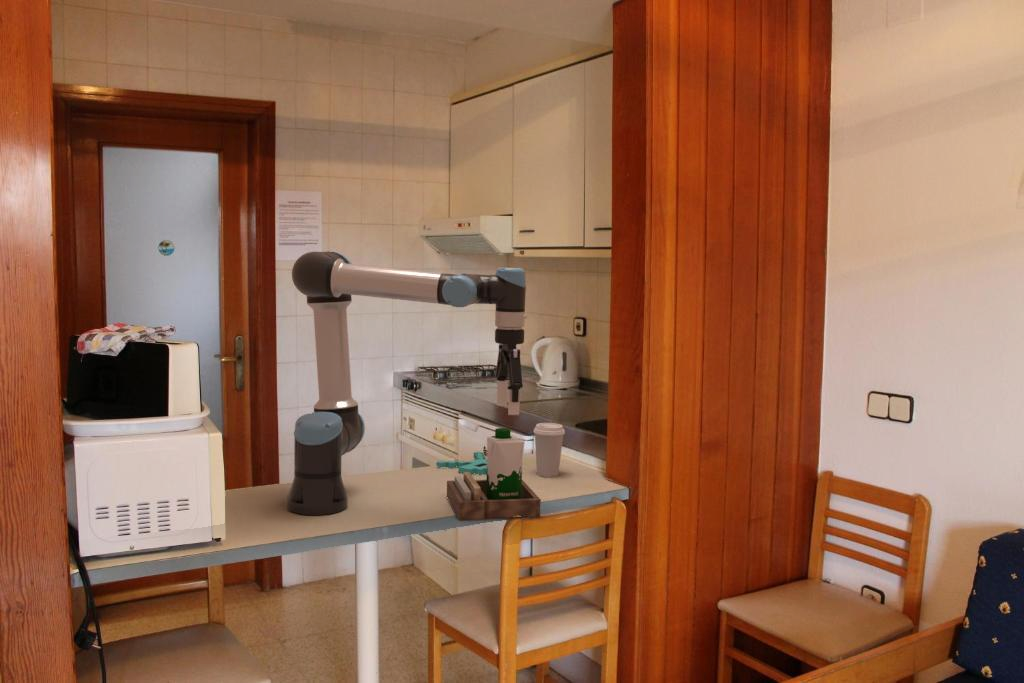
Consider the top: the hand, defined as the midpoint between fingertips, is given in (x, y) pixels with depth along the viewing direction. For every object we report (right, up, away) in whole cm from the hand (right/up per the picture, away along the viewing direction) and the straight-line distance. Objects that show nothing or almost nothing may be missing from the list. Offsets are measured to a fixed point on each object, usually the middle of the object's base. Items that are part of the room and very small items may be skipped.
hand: (507, 409), depth 226 cm
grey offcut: (-12, -26, 0) cm, 28 cm away
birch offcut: (-10, -26, +1) cm, 27 cm away
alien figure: (-8, -22, +43) cm, 49 cm away
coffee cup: (+12, -23, +37) cm, 45 cm away
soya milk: (-1, -26, +3) cm, 26 cm away
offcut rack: (-4, -25, +2) cm, 26 cm away
